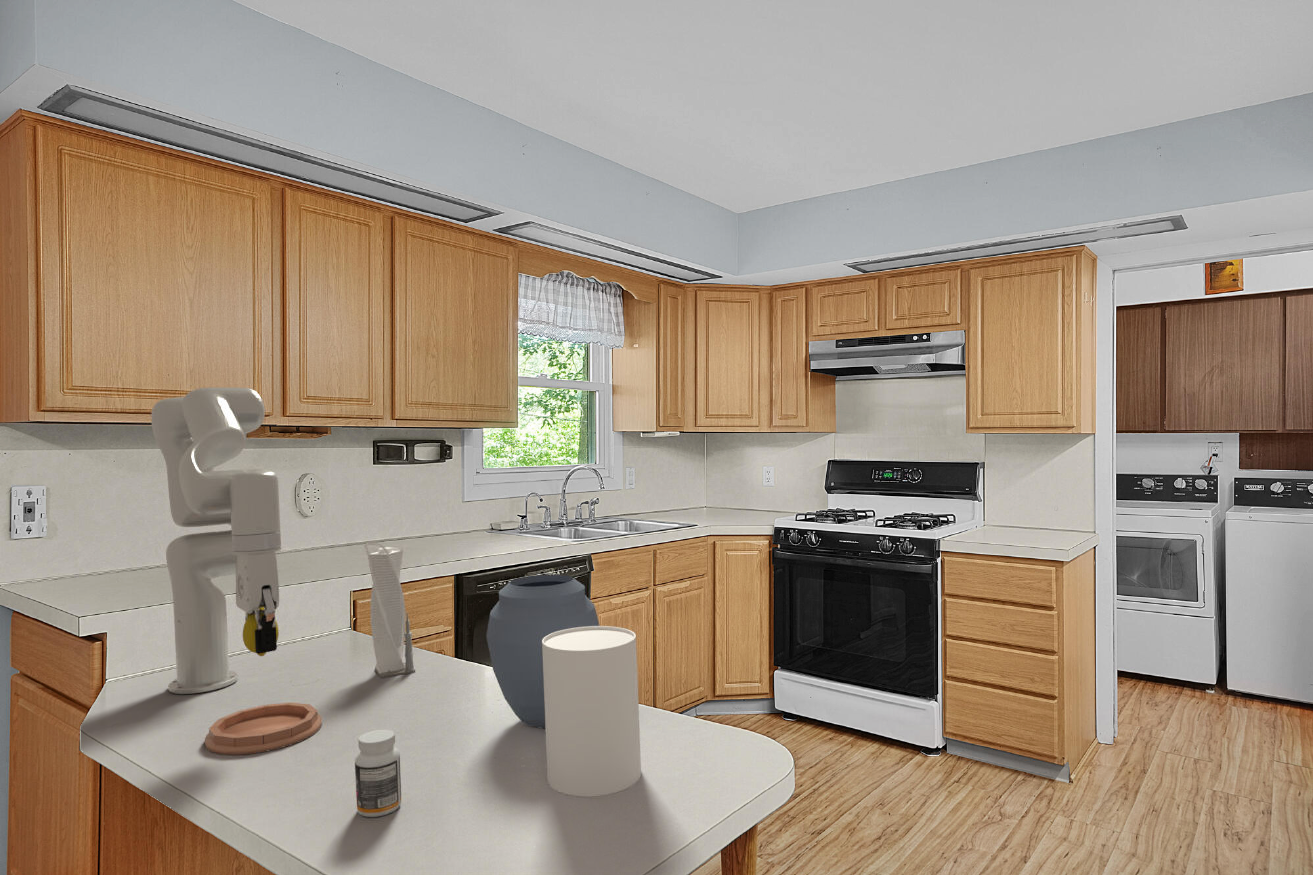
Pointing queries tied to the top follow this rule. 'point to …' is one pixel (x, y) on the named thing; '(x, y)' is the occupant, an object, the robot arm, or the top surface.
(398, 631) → the skyscraper
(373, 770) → the pill bottle
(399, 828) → the top surface
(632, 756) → the canister
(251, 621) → the lemon
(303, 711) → the dish
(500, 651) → the vase
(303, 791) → the top surface
